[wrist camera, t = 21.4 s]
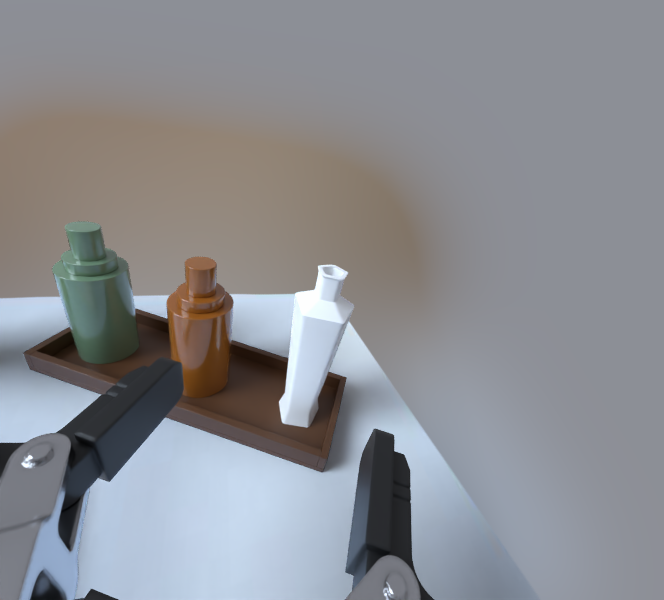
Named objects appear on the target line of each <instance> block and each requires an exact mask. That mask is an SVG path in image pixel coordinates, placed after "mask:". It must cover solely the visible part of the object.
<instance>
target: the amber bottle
mask: <svg viewBox="0 0 664 600" xmlns="http://www.w3.org/2000/svg"><path fill="white" fill-rule="evenodd" d="M216 267H217V265H216V262H215V261H214V260H213V259H210V258H207V257H192V258H189V259H187V260H186V261H185V279H186V282H185V283H183V284H181V285H180V286H179V287H178V288H177V290H176V292H174V293H173V294H171V295H170V296H169V298H168V300H167V315H168V327H169V338H170V350H171V359H172V360H175V361H178V362H180V363H182V368H183V382H184V390H183V394H182V395H184V396H187V397H191V398H204V397H208V396H211V395H214V394H216V393H218V392H219V391H220V390H222V389H223V388H224V387H225V386H226V384H227V383H228V380H229V373H230V356H231V338H232V320H233V299H232V297H231V296H230V295H229V294H228V293H227V292H225V290H224V288H223V287H222V286H221V285H220V284H218V283H216Z"/></svg>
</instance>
